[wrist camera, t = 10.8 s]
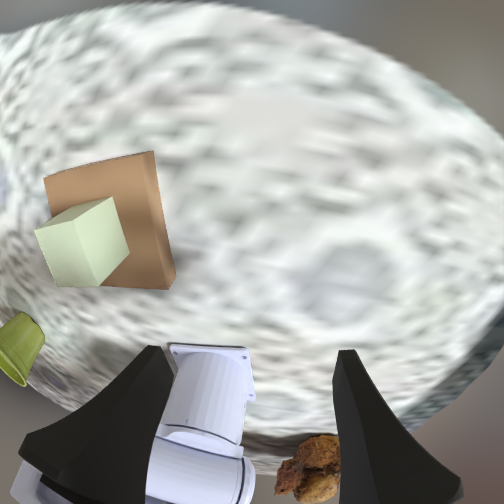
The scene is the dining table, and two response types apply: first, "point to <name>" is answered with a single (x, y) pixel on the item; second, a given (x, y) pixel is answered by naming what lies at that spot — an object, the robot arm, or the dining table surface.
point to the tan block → (123, 214)
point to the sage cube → (83, 244)
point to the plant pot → (19, 347)
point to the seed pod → (312, 470)
